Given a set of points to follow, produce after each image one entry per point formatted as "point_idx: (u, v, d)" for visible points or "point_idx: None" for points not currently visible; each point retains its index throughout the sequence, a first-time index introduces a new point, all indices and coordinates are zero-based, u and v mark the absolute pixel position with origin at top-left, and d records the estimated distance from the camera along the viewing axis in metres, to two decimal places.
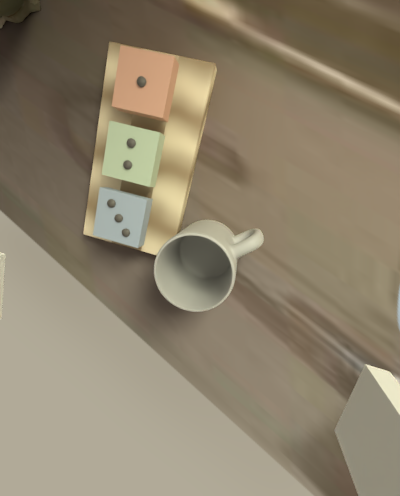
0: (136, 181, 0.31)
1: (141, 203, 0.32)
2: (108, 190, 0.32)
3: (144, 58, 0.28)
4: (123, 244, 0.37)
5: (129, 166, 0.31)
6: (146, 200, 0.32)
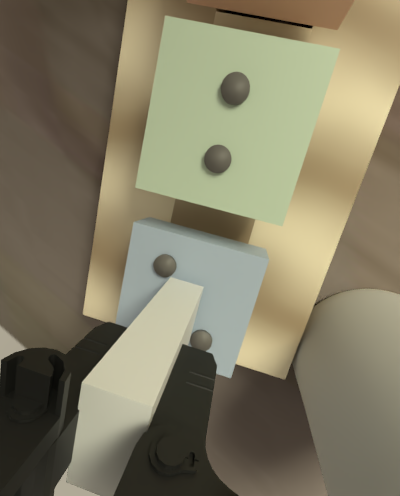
0: (241, 209, 0.10)
1: (251, 268, 0.11)
2: (157, 231, 0.12)
3: None
4: None
5: (223, 163, 0.10)
6: (266, 260, 0.11)
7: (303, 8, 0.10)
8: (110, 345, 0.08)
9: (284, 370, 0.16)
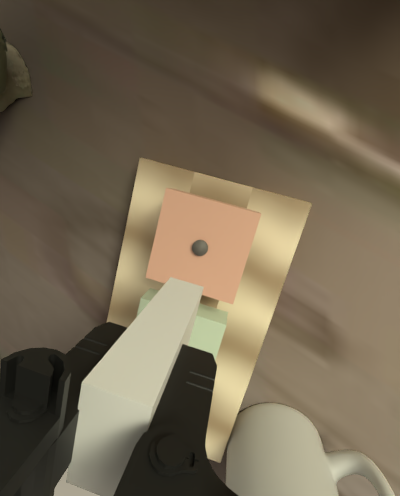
0: None
1: None
2: None
3: (206, 212, 0.16)
4: None
5: None
6: None
7: None
8: (110, 345, 0.08)
9: (219, 457, 0.24)
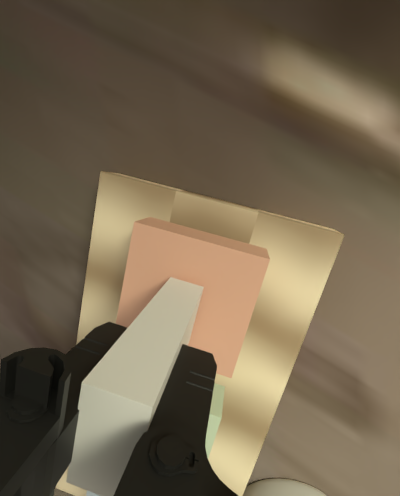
0: None
1: None
2: None
3: (191, 256, 0.12)
4: None
5: None
6: None
7: None
8: (110, 345, 0.08)
9: None
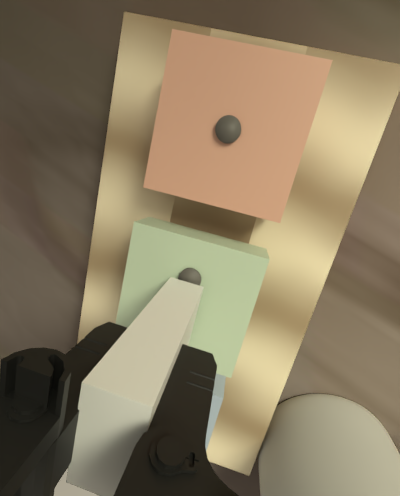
0: None
1: None
2: None
3: (239, 66, 0.10)
4: None
5: None
6: (221, 398, 0.13)
7: None
8: (110, 345, 0.08)
9: (248, 468, 0.17)
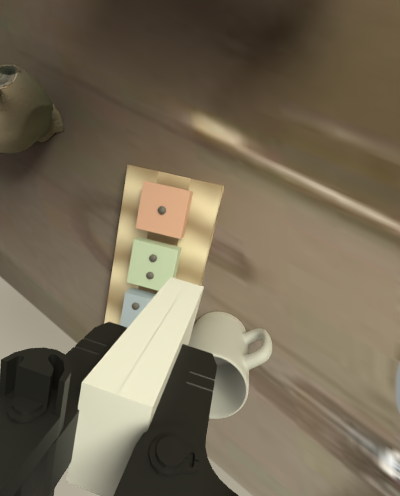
0: (157, 288, 0.36)
1: None
2: (132, 295, 0.36)
3: (164, 191, 0.33)
4: None
5: (151, 277, 0.35)
6: None
7: None
8: (110, 345, 0.08)
9: None
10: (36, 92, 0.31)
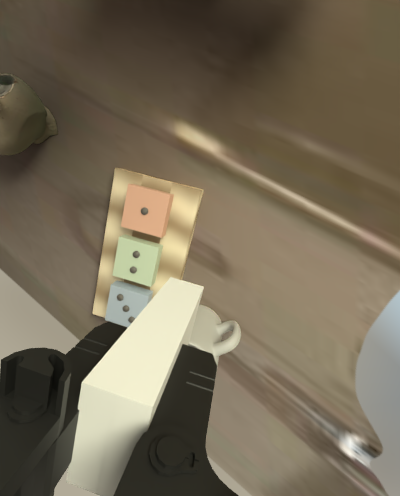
0: (140, 282, 0.39)
1: (144, 298, 0.40)
2: (117, 287, 0.40)
3: (146, 194, 0.36)
4: None
5: (134, 271, 0.39)
6: (148, 296, 0.40)
7: None
8: (110, 345, 0.08)
9: None
10: (31, 101, 0.34)
